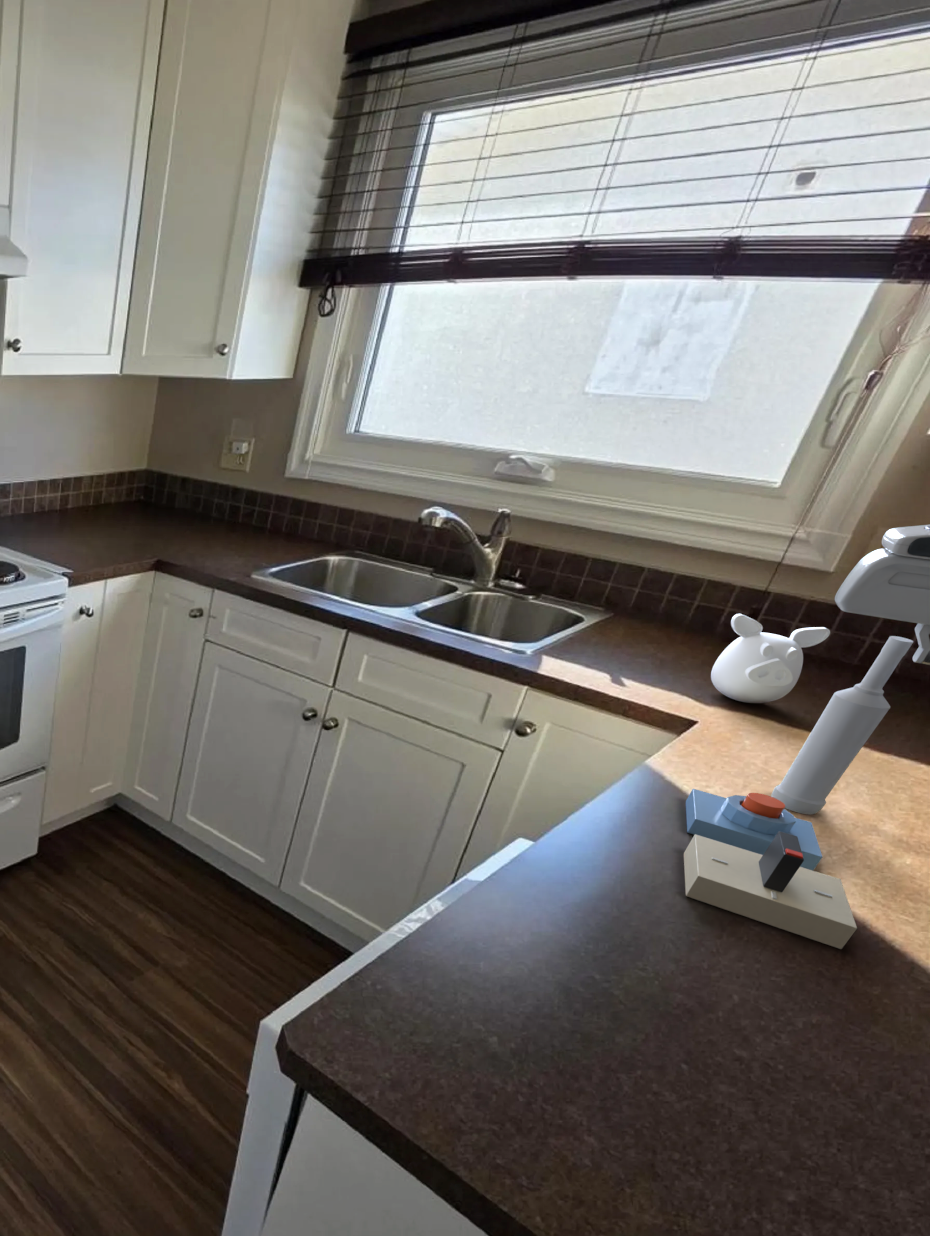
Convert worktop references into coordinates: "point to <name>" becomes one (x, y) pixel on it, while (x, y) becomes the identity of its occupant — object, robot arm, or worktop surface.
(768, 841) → the button housing
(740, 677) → the piggy bank
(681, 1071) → the worktop surface
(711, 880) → the box
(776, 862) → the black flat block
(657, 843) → the worktop surface
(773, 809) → the button
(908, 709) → the worktop surface
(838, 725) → the bottle
